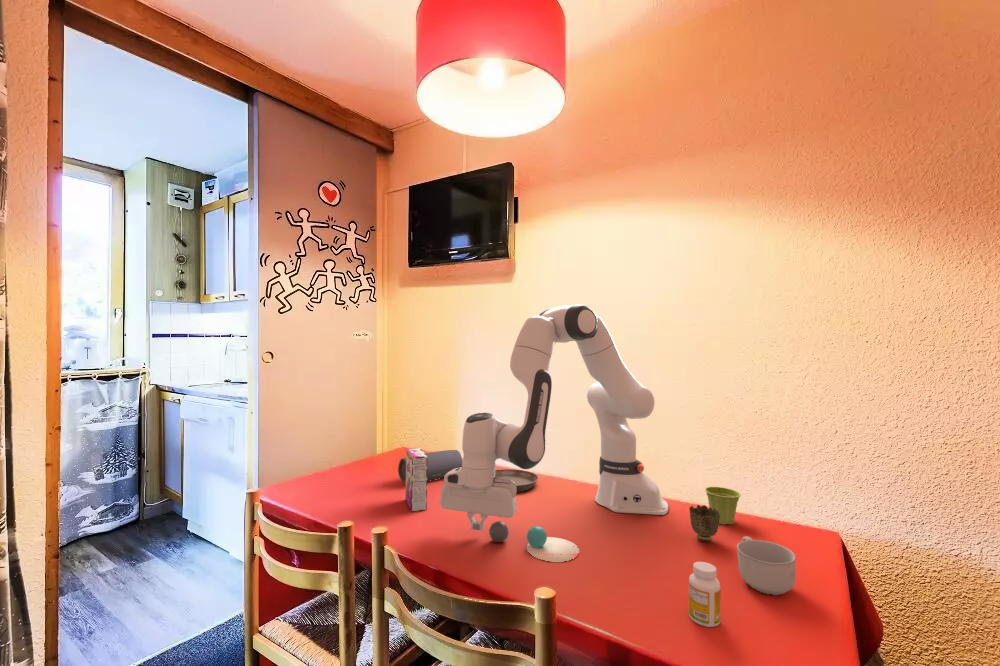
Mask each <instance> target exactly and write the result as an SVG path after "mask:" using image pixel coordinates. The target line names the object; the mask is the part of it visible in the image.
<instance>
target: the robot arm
mask: <svg viewBox="0 0 1000 666" xmlns="http://www.w3.org/2000/svg"><path fill="white" fill-rule="evenodd" d="M569 342H575V343H576V345H577V347H578V350H579V353H580V356H581V357H582V359H583V362H584V364H585V366H586V369H587V372H588V374H589V376H591V377H592V378H593V379H594V380H595V382H594V383H592V384H591V385H590V386H589V388H588V391H587V393H586V394H587V395H586V398H587V402H588V404H589V405H590V407H591V409H593V411H594V413H595V416H596V419H597V423H598V426H599V431H600V456H599V460H598V474H599V481H598V482H599V483H598V488H597V493H596V494H595V499H594V500H595V502H596V503H597V504H599V505H600V506H603V507H604V508H607V509H609V510H610V511H612V512H615V513H622V514H623V513H624V514H639V515H640V514H641V515H654V516H655V515H657V516H663V515H666V514H668V512H669V505H668V502H667V501H666V500H665V499H664V498H662V495H661V491H660V488H659V486H658V484H657V483H656V482H655V481H653V480H652V479H651V478H650V477H649V476H648V475H646V474H645V473H644V470H645V466H644V465H643V463H642V461H641V460H638V459H637V437H636V433H635V432H634V431H633V429H632V428H631V427H630V425H629V423H628V420H627V419H629V420H642V419H646V418H648V417H649V416H650V415H651V414H652V413H653V411H654V408H655V402H656V401H655V397H654V394H653V393H652V391H651V390H650V389H648V388H647V387H645V385H643V384H642V383H641V382H639V380H638V379H637V378H636V377H635V376H634V375H633V374H632V372H631V371H630V369H628V367H627V366H626V364H625V363H624V360H623V358H622V357H621V354H620V352H619V351H618V348H617V346H616V344H615V341H614V339H613V337H612V335H611V332H610V331H609V329H608V327H607V325H606V323H605V322H604V321H603V318H601V316H599V315H598V314H596V313H595V312H594V310H593V309H592V308H591V307H590V306H588V305H585V304H580V303H577V304H572V305H571V304H570V305H561V306H558V307H554V308H550V309H546V310H544V311H542V312H540V313H539V314H538V315H533V316H530V317H528V318H527V319H526V320H525V322H524V323H523V325H522V327H521V329H520V331H519V333H518V336H517V338H516V341H515V344H514V347H513V350H512V352H511V356H510V363H509V367H510V371H511V372H512V375H513V376H514V377H515V378H516V379H517V380H518V381H519V382H520V383H521V384H522V385H523V386H524V387H525V389H526V390H527V402H526V408H525V413H524V414H525V415H524V420H523V424H522V425H521V426H517V425H515V424H511V423H508V422H506V421H502V420H501V419H498V418H497V417H495V416H494V415H493V413H491V412H477V413H474V414H471V415H469V416H468V417H467V418H466V419H465V422H464V425H463V430H462V444H461V446H462V454H463V458H462V467H460V468H455V469H453V470H451V471H449V472H448V473H447V474H446V475H445V476H444V478H443V482H444V484H443V485H442V486H441V491H440V499H439V501H440V502H439V503H440V506H441V508H442V509H444V510H451V511H456V512H457V511H458V512H465V513H466V516H467V518H468V520H469V522H470V529H471V530H475V531H481V532H482V531H483V530H484V526H485V524H484V523H485V521H486V520H487V518H488V517H489V516H493V517H498V518H500V517H501V518H507V519H511V518H513V516H515V514H516V512H517V499H516V496H517V493H518V492H517V487H516V485H515V483H514V482H512V481H511V480H509V479H506V480H505V479H500V478H495V470H496V461H497V460H499V459H501V460H502V461H505V462H508V463H511V464H513V465H514V466H515V467H518V468H520V469H521V470H530V469H533V468H534V467H536V466H537V465H538V464H539V463H540V462H541V461H543V460H542V459H543V458H544V455H545V453H546V429H547V423H548V417H549V409H550V403H551V395H552V388H553V387H552V385H553V384H552V377H551V375H550V362H551V358H552V354H553V350H554V347H555V345H556V343H562V344H564V343H565V344H566V343H569ZM596 381H597V382H596ZM511 483H512V484H511ZM475 514H479V515H480V516H479V517H480V518H481V520H476V518H475Z"/></svg>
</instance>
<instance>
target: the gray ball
mask: <svg viewBox="0 0 1000 666" xmlns="http://www.w3.org/2000/svg"><path fill="white" fill-rule="evenodd" d="M488 532H489V533H488V535H489V537H490V539H491V540H492V541H493V542H495V543H503V542H505V541H506V540H507V539H508V537H509V534H510V532H509V528H508V525H507V524H506V523H505V522H503V521H500V520H498V521H497V520H496V521H494V522H493V523H492V524H491V525H490V527H489V529H488Z"/></svg>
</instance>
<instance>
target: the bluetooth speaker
mask: <svg viewBox="0 0 1000 666" xmlns="http://www.w3.org/2000/svg"><path fill="white" fill-rule="evenodd" d="M424 453H425V454H426V456H427V457H428V458H427V481H429V482H431V481H430V480H434V481H436V480H435V479H439V478H442V479H444V478H443V477H444V476H445V475H446V474H447V473H448V472H449V471H451V470H453V469H455V468H460V467H462V461H463V458H462V454H461V452H460V451H459V450H458V449H447V450H439V451H431V452H424ZM397 473H398V477H399V479H400V480H401V481H402V482H403V483H406V457H403V458H401V459H399V462H398V467H397ZM439 480H440V479H439Z"/></svg>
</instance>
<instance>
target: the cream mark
mask: <svg viewBox="0 0 1000 666" xmlns="http://www.w3.org/2000/svg"><path fill="white" fill-rule="evenodd" d="M573 546H574V547H573ZM577 547H578V546H577V545H576V544H575V543H574V542H572V541H569V540H567V539H564V538H560V537H552V536H547V540H546V543H545V544H544V545H543V546H542V547H540V548H535V547H532V546H531V545H530V544H529V543H527V545H526V551H527V553H528V552H529V553H530V554H531V555H532V556H531V555H530V554H529V553H528V554H529V555H530V556H531V557H533V556H534V557H533V558H535V557H536V558H535V559H537V558H538V559H537V560H539V559H541V560H540V561H542V560H545V561H544V562H547V561H551V562H550V563H565V562H564V561H567V562H570V561H569V560H571V559H572V558H573V560H575V559H574V556H573V555H572V554H574V553H575V554H576V553H579V554H580V549H579V547H578V548H577ZM540 553H541V554H540ZM543 553H544V554H543ZM548 553H549V554H548ZM535 554H538V555H535ZM542 554H543V555H545V554H548V555H547V556H546V555H545V556H546V557H545V556H543V555H542ZM550 554H551V555H550ZM553 554H554V555H553ZM560 554H562V555H560ZM567 554H568V555H567ZM570 554H571V555H572V556H573V557H572V556H571V555H570ZM552 555H553V556H552ZM543 557H544V558H543ZM571 557H572V558H571ZM571 561H572V560H571Z"/></svg>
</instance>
